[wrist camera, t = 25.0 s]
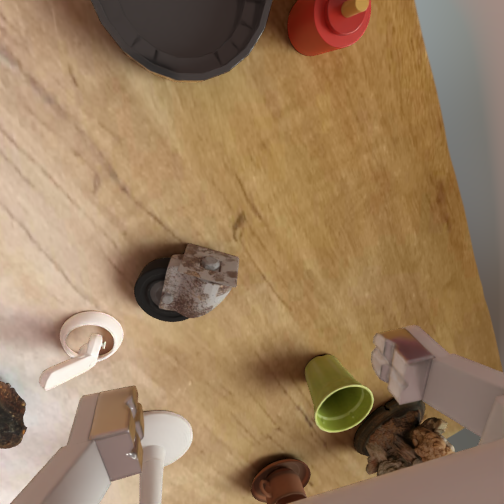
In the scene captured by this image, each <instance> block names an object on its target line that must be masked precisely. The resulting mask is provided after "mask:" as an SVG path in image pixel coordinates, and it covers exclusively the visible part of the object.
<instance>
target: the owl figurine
mask: <svg viewBox="0 0 504 504" xmlns="http://www.w3.org/2000/svg"><path fill="white" fill-rule="evenodd" d="M386 407H387V408H388V409H390V411H387V410H385V407H379V408H378V409H377V410H376V411H374V412H373V413H372V414H371V415H370V416H369V417H368V418H367V419H366V420H365V421H364V422H363V424H362V425H361V426H360V427H359V429H358V431H357V433H356V435H355V438H354V440H355V441H354V442H355V444H354V447H355V449H356V451H357V452H358V453H360V454H363V455H366V456H368V464H367V467H366V471H367V473H368V474H373V473H375V472H377V476H380V475H383V474H387V473H390V472H393V471H396V470H400V469H403V468H406V467H410V466H413V465H416V464H419V463H423V462H426V461H429V460H433V459H436V458H439V457H442V456H446V455H449V454H452V453H455V451H454V447H453V446H452V445H451V444H450V443H449V442H448V441H447V440H446V438H445V437H444V436H442V435H441V434H442V433H443V432H445V429H446V428H447V426H446V425H447V424H448V423H447V422H445V421H444V420H442V419H438V418H435V417H434V418H428V419H427V420H425V421H424V422H423V423H422V424H421V422H422V420H423V417H424V412H425V404H424V402H423V400H419V401H414V402H410V403H406V404H401V405H399V403H398V402H397V401H396V400H395V399H393V400H391V402H387V403H386ZM420 424H421V425H420Z"/></svg>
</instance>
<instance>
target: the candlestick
mask: <svg viewBox="0 0 504 504" xmlns="http://www.w3.org/2000/svg"><path fill="white" fill-rule="evenodd" d="M143 415H144V437H143V439H142V440H141V445H142V448H143V462H142V473H140V499H139V504H161V500H162V481H163V467H164V466H167V465H169V464H171V463H173V462H174V461H176V460H177V459H179V458H180V457H181V456H182V455H183V454H184V453H185V452H186V451H187V450H188V448H189V447H190V445H191V442H192V437H193V434H192V428H191V425H190V423H189V422H188V421H187V420H186V419H185V418H184V417H182V416H181V415H179V414H176V413H173V412H169V411H148V412H144V413H143Z"/></svg>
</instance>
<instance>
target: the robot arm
mask: <svg viewBox="0 0 504 504" xmlns="http://www.w3.org/2000/svg"><path fill="white" fill-rule="evenodd" d="M373 343H374V344H375V346H376V348H375V349H374V350H373V351H372V354H371V362H372V366H373V369H374V371H375V373H376V375H377V376H378V377H379V379H381V380H382V381H384V382H386V383H388V390H389V392H390V393H391V394H392V396H393V397H394V398H395V400H396V401H397V402H398V403H399V405H401V404H406V403H410V402H414V401H419V400H423V402H425V403H427V404H428V405H430V406H431V407H433V408H435V409H436V410H438V411H439V412H441V413H443V414H444V415H446V416H448V417H449V418H451V419H452V420H454V421H456V422H457V423H459V424H460V425H462V426H464V427H465V428H467V429H468V430H470V431H472V432H473V433H475V434H476V435H478V436H480V437H481V439H480V441H479V444H478V446H476V447H472V448H469V449H466V450H463V451H459V452H456V453H452V454H449V455H446V456H442V457H439V458H436V459H433V460H429V461H426V462H423V463H419V464H416V465H413V466H410V467H406V468H403V469H400V470H396V471H393V472H390V473H387V474H383V475H380V476H377V477H373V478H370V479H367V480H364V481H360V482H357V483H354V484H350V485H347V486H344V487H341V488H337V489H334V490H331V491H327V492H324V493H321V494H317V495H314V496H311V497H308V498H304V499H301V500H298V501H294V502H291V503H288V504H504V373H503V372H500V371H497V370H495V369H492V368H490V367H487V366H485V365H482V364H479V363H477V362H474V361H472V360H469V359H467V358H464V357H461V356H459V355H456V354H449V353H448V352H447V351H446V350H445V349H443V348H442V347H441V346H440V345H439V344H438V343H437V342H436V341H435V340H433V339H432V338H431V337H430V336H429V335H428V334H427V333H426V332H425V331H423V330H422V329H421V328H420V327H419V326H417V325H411V326H407V327H402V328H398V329H394V330H389V331H385V332H380V333H376V334H375V336H374V339H373ZM143 437H144V415H143V409H142V406H141V404H140V403H138V392H137V389H136V386H129V387H124V388H119V389H113V390H108V391H103V392H100V393H94V394H89V395H84V396H82V398H81V399H80V400H79V404H78V408H77V411H76V415H75V418H74V422H73V425H72V429H71V432H70V436H69V440H68V443H67V446H64V447H61V448H60V449H59V450H58V451H57V452H56V454H55V455H54V456H53V457H52V458H51V459H50V460H49V461H48V462H47V464H46V465H45V466H44V467H43V468H42V469H41V470H40V471H39V472H38V473H37V475H36V476H35V477H34V478H33V479H32V480H31V481H30V482H29V483H28V485H27V486H26V487H25V488H24V489H23V490H22V491H21V492H20V493H19V495H18V496H17V497H16V498H15V499H14V500H13V501H12V502H11V503H10V504H99V503H100V502H101V500H102V498H103V497H104V495H105V493H106V492H107V490H108V488H109V486H110V485H111V481H115V480H118V479H122V478H125V477H128V476H132V475H135V474H139V473H142V462H143V448H142V445H141V440H142V439H143Z"/></svg>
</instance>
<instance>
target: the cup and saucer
mask: <svg viewBox="0 0 504 504" xmlns="http://www.w3.org/2000/svg"><path fill="white" fill-rule="evenodd" d="M310 475H311V474H310V469H309V468H308V466H307V465H306V464H305V463H304V462H302V461H299V460H295V459H284V460H279V461H276V462H273V463H271V464H269V465H268V466H266V467H265V468H263V469H262V470H261V471H260V472H259V473H258V474H257V475H256V477H255V478H254V480H253V482H252V486H251V492H252V495H253V497H254V498H255V499H257V500H258V501H261V502H266V503H267V504H288V503H291V502H294V501H298V500H301V499H304V498H307V497H306V494H305V491H304V489H303V488H304V487H305V486H306V485H307V483H308V481H309V479H310Z"/></svg>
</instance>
